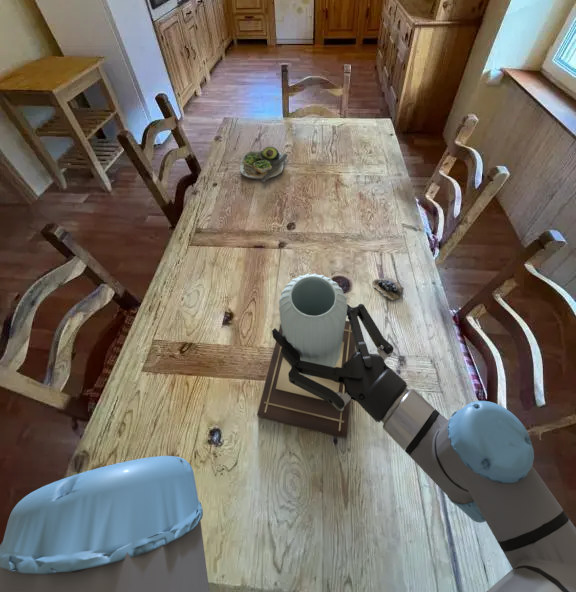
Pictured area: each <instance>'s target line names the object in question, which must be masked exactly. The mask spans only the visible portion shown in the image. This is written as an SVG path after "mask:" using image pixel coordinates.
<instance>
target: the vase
mask: <svg viewBox="0 0 576 592" xmlns="http://www.w3.org/2000/svg"><path fill="white" fill-rule="evenodd" d="M344 292H345V291H344V290H343V289H342V287H341V286H339V283H338V282H336V281H335V280H333V279H332V278H331V277H329V276H328V277H327V276H325V275H324V274H317V273H312V274H310V273H305V275H304V274H303V275H298V276H297V277H295V278H292V279H291V280H290V282H289V283H287V284H286V285H285V287H284V289H283V290H282V291H281V293H280V297H279V302H278V304H279V306H278V311H279V312H278V313H279V320H280V324H281V329H282V336H283V337H284V338H285V339H286V340H287V341H288V342H289V343H290V344H291V345H292V346H293V348H294V349H295V350H296V351H297V352H298V353H299V354H300V360H301V361H306V362H311V363H316V364H320V365H325V366H330V367H334V366H336V364H337V361H338V359H339V357H340V352H341V346H342V340H343V334H344V328H345V321H347V317H346V315H347V304H348V303H347V300H348V299H347V296H346V294H345V293H344ZM289 365H290V364H289ZM290 366H291V365H290ZM301 375H303V376H304V375H306V374H301ZM306 376H308V377H312V376H311V375H306Z"/></svg>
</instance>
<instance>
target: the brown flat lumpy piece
mask: <svg viewBox="0 0 576 592" xmlns="http://www.w3.org/2000/svg"><path fill="white" fill-rule="evenodd" d="M372 287H373V288H375V289H376V291H379V292H380V293H382V294H383V297H385V298H386V299H387V300H388V301H396V300H397V299H401V297H402V295H403V292H402V291H404V289H405V288H404V286H402V285H401V284H400V283H399V282H398V281H396V280H394V279H393V278H390V277H382V278H376V279H374V280H372Z"/></svg>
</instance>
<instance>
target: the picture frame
mask: <svg viewBox="0 0 576 592" xmlns="http://www.w3.org/2000/svg"><path fill="white" fill-rule="evenodd" d="M278 332H279V333H280V334H281V335H282V329H281V323H280V324H279V328H278ZM281 349H282V347H281V346H280V345H279V344H278V342H277V341H276V340H275V344H274V348H273V352H272V355H271V359H270V363H269V367H268V371H267V375H266V378H265V382H264V386H263V391H262V395H261V398H260V402H259V406H258V409H257V413H256V417H257V418H260V419H263V420H268V421H271V422H275V423H278V424H279V423H280V424H283V425H287V426H292V427H296V428H300V429H304V430H306V431H307V430H308V431H311V432H315V433H318V434H323V435H327V436H331V437H336V438H339V439H342V440H347V438H348V430H349V429H348V427H349V417H350V406H351V399H350V400H349V402H348V403H347V404H346V405H345V406H344V410H343V411H342V412H338V411H337V410H336V409H335V408H334V407H333V406H332V405H331V404H330V403H329V402H327V401H325V400H323V399H321V398H319V397H317V396H315V395H313V394H312V393H310V392H308V391H306V390H304V389H302V388H300V387H298V386H296V385H294V384H292V383H290V381H289V376H288V373H289V371H290V370H291V368H292V367H291V366H290V365H289V363H288V362H287V361H286V360H285V359H284V358H283V356H282V354H281ZM355 349H356V345H355V341H354V337H353V334H352V330H351V326H350V322H349V320H346V321H345V328H344V334H343V340H342V346H341V352H340V357H339V359H338V361H337V364H336V366H334V367H340V368H343V365H344V364H345V363H346V362H347V361H348V360H350V359H351V357H352V355H353V354H354V353H355V352H356V351H355ZM299 374H301V373H299ZM304 376H305V377H307V378H309V379H311V380H313V381H315V382H317V383H319V384H321V385H323V386H325V387H327V388H329V389H331V390H333V391H334V392H335V393H336V392H341V393H343V394H344V393H346V392H345V387H344V384H342V383H337V382H334V381H333V380H329V379H324V378H320V377H315V376H312V377H308V376H306V375H304Z"/></svg>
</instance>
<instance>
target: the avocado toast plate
mask: <svg viewBox="0 0 576 592" xmlns="http://www.w3.org/2000/svg"><path fill="white" fill-rule="evenodd" d="M287 156H288V154H287V153H284V154H283V153H281V151H279V150H278V149H277V148H276V147H274V146H266V147H264V148H263V150H251V151H247V152H245V153H244V154H243V155H242V156H241V158H240V159H241V160H240V166H239V172H240V174H241V175H242V176H243V177H245V178H247V179H251V180H260V181H261V182H262V183H265V182H267V180H269V179H270V178H274V177H276V176H279V175H280V174H281V173H282V172H283V170H284V161H285V160H286V158H287Z"/></svg>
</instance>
